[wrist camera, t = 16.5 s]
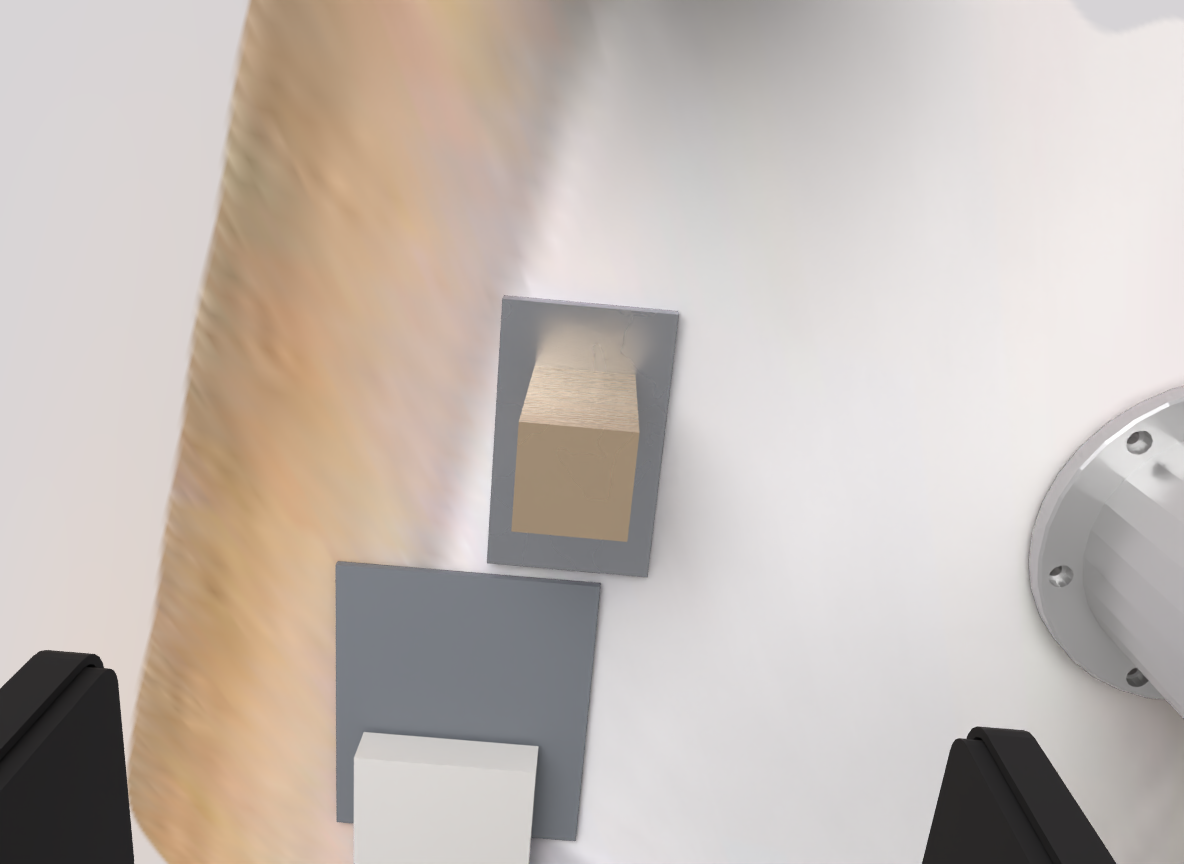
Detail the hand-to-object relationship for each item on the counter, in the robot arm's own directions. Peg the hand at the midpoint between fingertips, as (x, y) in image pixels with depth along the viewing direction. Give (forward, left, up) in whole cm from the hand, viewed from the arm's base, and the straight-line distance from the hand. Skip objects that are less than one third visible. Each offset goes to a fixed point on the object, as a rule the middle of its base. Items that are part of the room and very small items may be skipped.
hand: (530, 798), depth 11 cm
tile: (-10, +15, -23) cm, 29 cm away
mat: (-9, +14, -24) cm, 29 cm away
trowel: (-3, +2, -25) cm, 25 cm away
